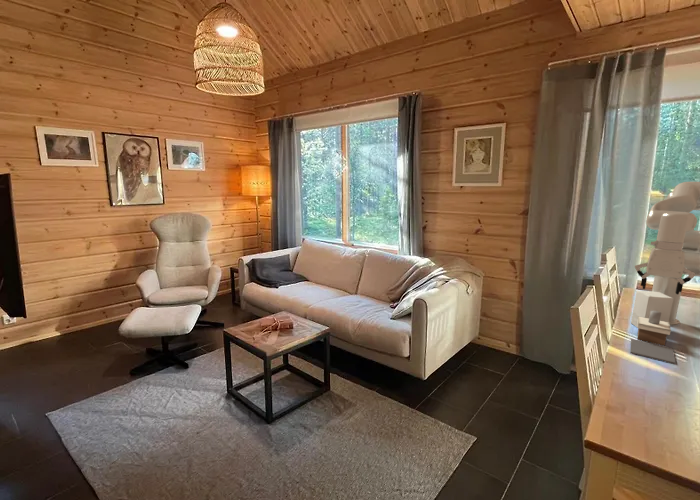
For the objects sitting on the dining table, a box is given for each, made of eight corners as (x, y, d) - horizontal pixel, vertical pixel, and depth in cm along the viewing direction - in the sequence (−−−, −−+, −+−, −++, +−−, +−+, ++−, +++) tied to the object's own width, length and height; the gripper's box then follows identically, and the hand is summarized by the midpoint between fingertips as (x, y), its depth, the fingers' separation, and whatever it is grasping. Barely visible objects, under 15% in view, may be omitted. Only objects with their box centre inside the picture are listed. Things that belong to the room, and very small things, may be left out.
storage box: (637, 333, 146) (640, 319, 144) (663, 338, 141) (666, 324, 140) (637, 339, 139) (640, 325, 138) (664, 345, 134) (667, 330, 133)
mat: (630, 340, 139) (631, 338, 139) (672, 349, 132) (672, 348, 131) (630, 353, 128) (630, 351, 128) (675, 364, 121) (675, 362, 121)
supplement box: (667, 333, 146) (674, 298, 143) (642, 331, 148) (648, 296, 145) (653, 325, 155) (660, 291, 152) (629, 322, 156) (636, 289, 153)
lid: (637, 321, 146) (640, 305, 144) (668, 327, 140) (671, 311, 139) (637, 328, 138) (640, 312, 137) (669, 334, 133) (673, 318, 131)
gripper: (639, 244, 135) (631, 288, 138) (702, 250, 125) (692, 298, 128) (638, 242, 141) (631, 284, 144) (699, 248, 131) (689, 293, 134)
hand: (660, 290), depth 136 cm, fingers open, 9 cm apart
